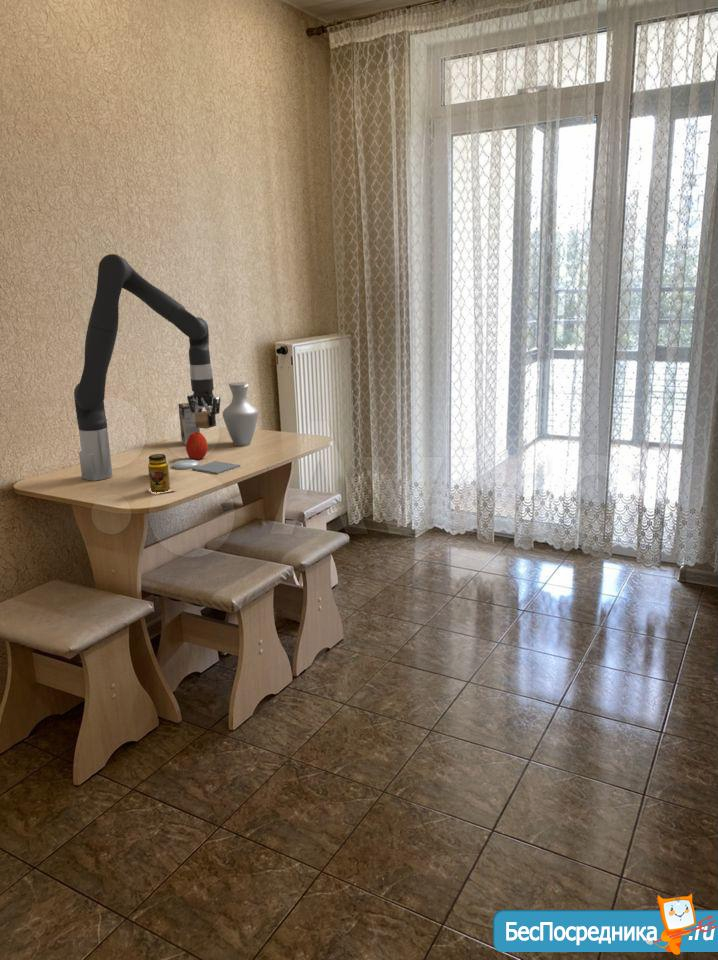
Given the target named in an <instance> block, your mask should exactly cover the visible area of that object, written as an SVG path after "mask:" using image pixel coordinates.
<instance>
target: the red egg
mask: <svg viewBox="0 0 718 960" xmlns="http://www.w3.org/2000/svg"><path fill="white" fill-rule="evenodd" d="M208 447H209V444H208V441H207V439H206V438H205V436H204V434H202V432H201V431H200V432H195V433H191V434H190V436H189V438H188V440H187V443H186V445H185V450H186V453H187V456H188V457H189V458H190V460H199V459H200V460H201V459H203V458H205V457H206V456H207V454H208V451H209V448H208Z"/></svg>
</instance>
